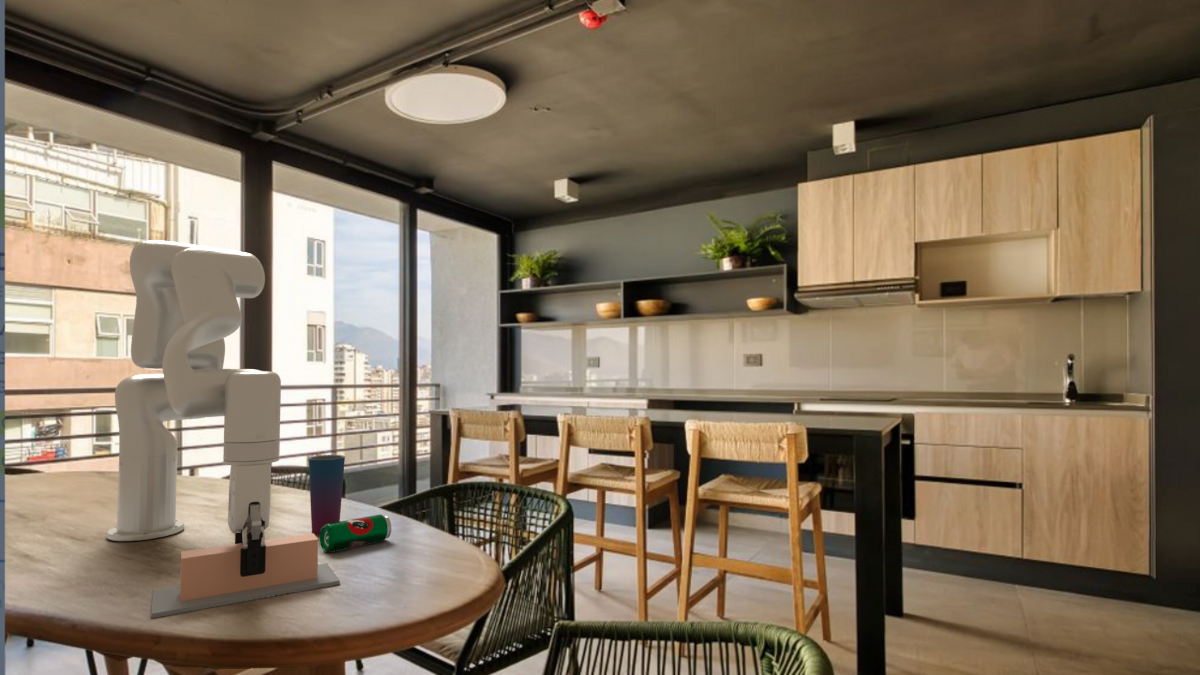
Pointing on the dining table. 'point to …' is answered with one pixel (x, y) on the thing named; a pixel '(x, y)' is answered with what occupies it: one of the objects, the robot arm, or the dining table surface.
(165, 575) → the dining table surface
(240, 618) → the dining table surface
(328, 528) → the soda can
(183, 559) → the peach wooden plank
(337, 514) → the cup
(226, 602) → the mat
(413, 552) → the dining table surface
